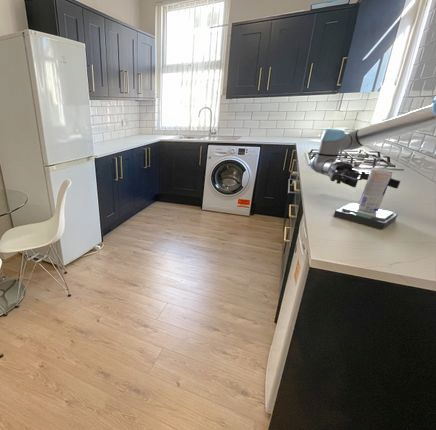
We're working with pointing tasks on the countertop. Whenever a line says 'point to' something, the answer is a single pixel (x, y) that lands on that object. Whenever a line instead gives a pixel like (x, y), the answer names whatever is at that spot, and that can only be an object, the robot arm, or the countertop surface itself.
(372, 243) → the countertop surface
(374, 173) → the beverage can
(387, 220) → the scale
